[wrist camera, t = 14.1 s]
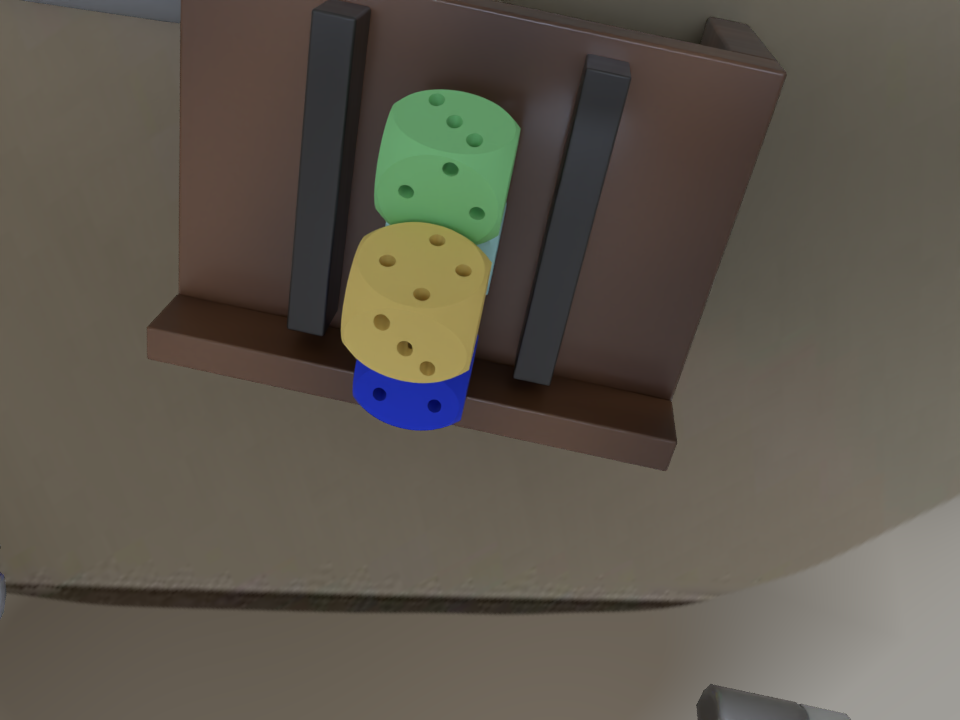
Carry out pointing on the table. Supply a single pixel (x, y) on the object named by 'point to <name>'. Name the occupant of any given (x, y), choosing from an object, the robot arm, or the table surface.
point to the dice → (428, 256)
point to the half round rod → (126, 7)
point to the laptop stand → (530, 201)
